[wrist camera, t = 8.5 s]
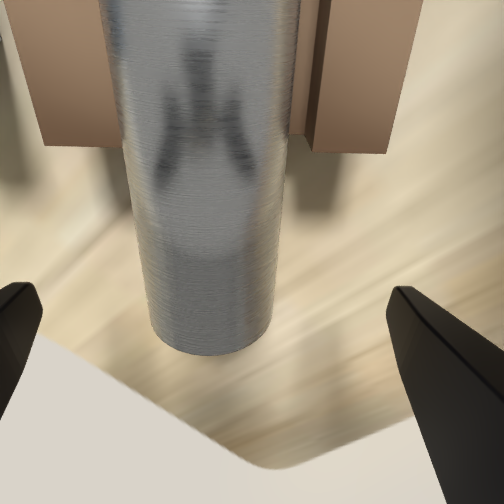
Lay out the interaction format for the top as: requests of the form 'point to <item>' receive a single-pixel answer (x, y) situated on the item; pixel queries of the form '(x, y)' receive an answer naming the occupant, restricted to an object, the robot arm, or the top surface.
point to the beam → (305, 77)
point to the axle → (205, 157)
